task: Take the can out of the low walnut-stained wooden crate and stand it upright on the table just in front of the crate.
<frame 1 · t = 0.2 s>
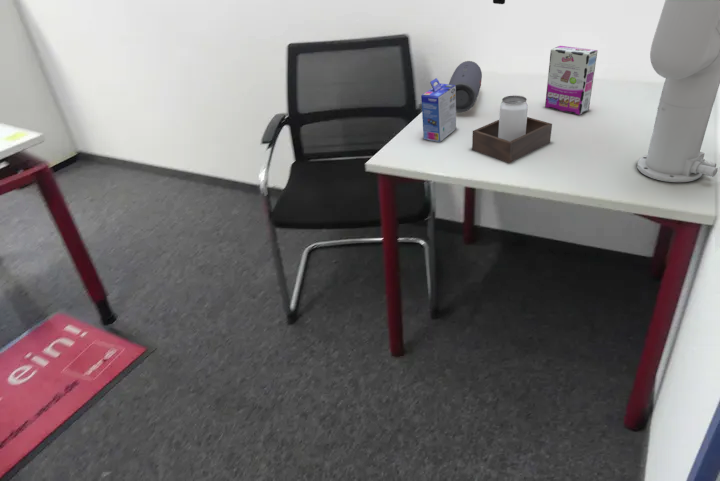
can: (510, 147, 134), resting in crate
crate: (510, 146, 134), on the table
ink cartridge box: (439, 134, 144), on the table
bluetooth speaker: (464, 103, 162), on the table
candy bar box: (566, 109, 151), on the table
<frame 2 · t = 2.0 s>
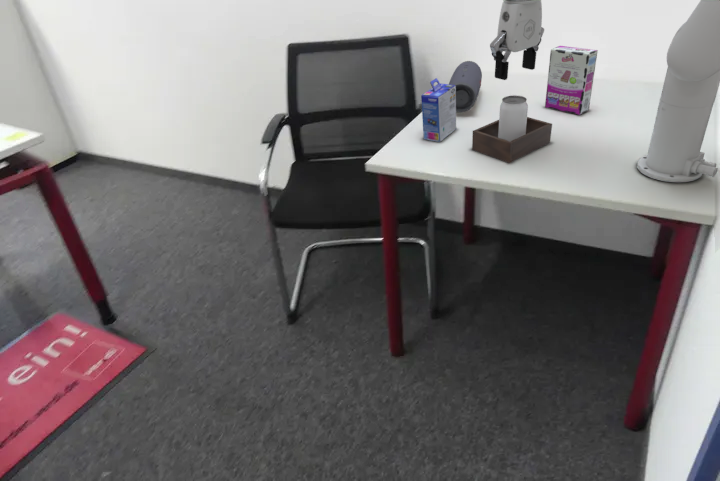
hand: (514, 73, 124), 18 cm above the table, tool pointing down, fingers open, 9 cm apart
nothing on the table moved.
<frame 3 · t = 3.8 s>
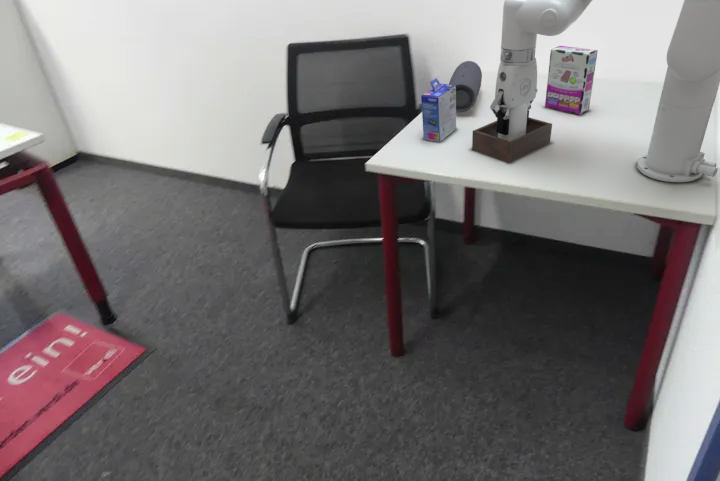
hand: (512, 128, 131), 5 cm above the table, tool pointing down, fingers closed on can, 6 cm apart
can: (510, 147, 134), resting in crate, touching gripper
everything else where it was.
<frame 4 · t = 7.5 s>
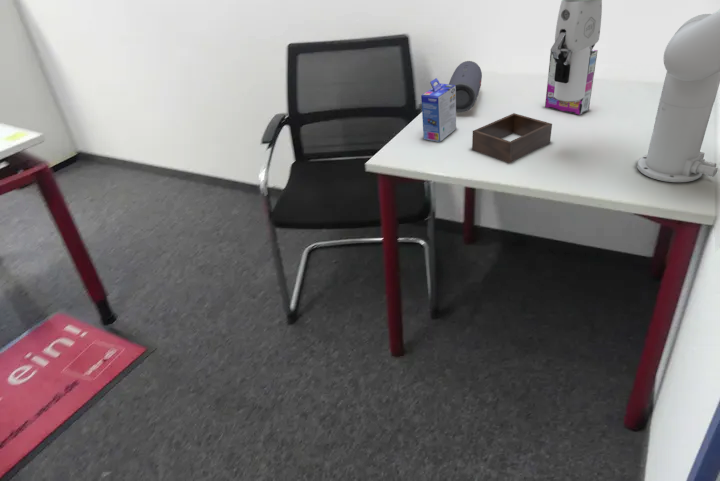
hand: (571, 77, 119), 18 cm above the table, tool pointing down, fingers closed on can, 6 cm apart
can: (568, 98, 122), point 13 cm above the table, touching gripper
everything else where it was.
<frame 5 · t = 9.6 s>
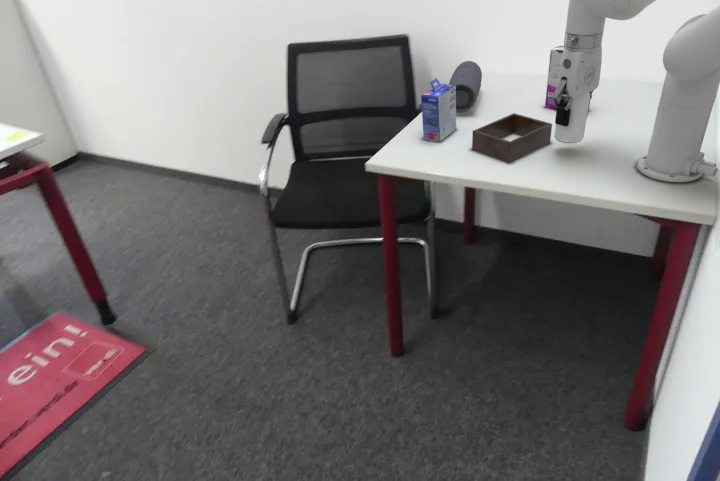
hand: (571, 119, 124), 8 cm above the table, tool pointing down, fingers closed on can, 6 cm apart
can: (568, 139, 127), point 3 cm above the table, touching gripper
everything else where it was.
when the fingers open (5 cm above the table, at t = 11.0 s): can stays where it is, on the table.
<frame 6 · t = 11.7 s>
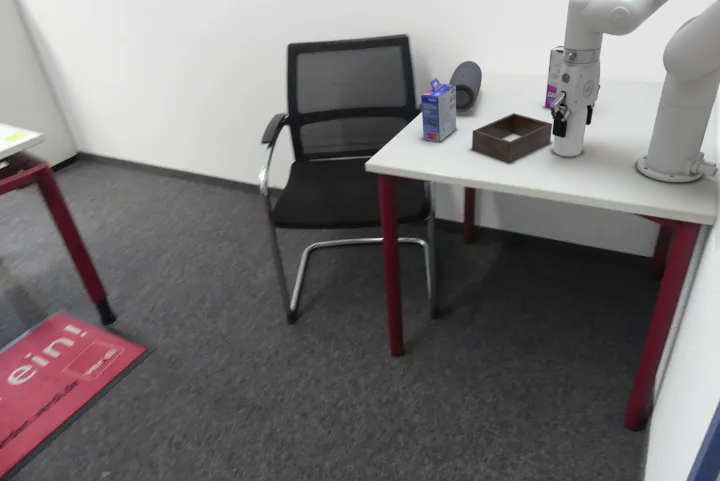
hand: (571, 129, 125), 6 cm above the table, tool pointing down, fingers open, 9 cm apart
can: (566, 152, 129), on the table
everything else where it was.
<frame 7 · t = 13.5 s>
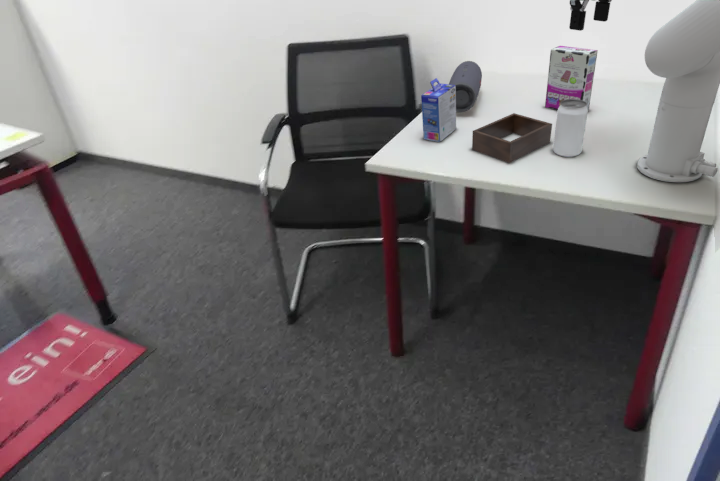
hand: (588, 25, 121), 27 cm above the table, tool pointing down, fingers open, 9 cm apart
nothing on the table moved.
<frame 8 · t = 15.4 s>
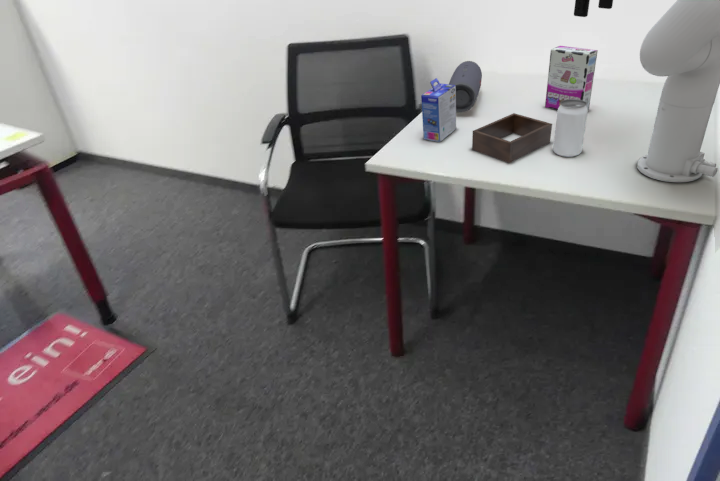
hand: (592, 12, 124), 28 cm above the table, tool pointing down, fingers open, 9 cm apart
nothing on the table moved.
at the end: can inside the target area (0.2 cm from its centre), on the table; can tilted 0°; the gripper is holding nothing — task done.
